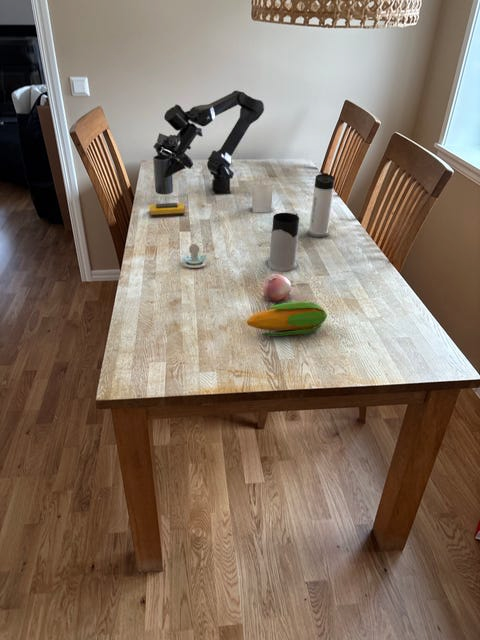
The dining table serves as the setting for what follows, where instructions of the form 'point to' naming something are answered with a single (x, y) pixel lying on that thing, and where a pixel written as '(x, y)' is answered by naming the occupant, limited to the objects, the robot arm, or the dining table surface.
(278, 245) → the glass holder
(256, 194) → the beige rectangular block
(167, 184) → the tumbler
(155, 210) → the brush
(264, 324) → the corn
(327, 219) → the travel mug
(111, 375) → the dining table surface
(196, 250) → the pacifier
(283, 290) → the onion
